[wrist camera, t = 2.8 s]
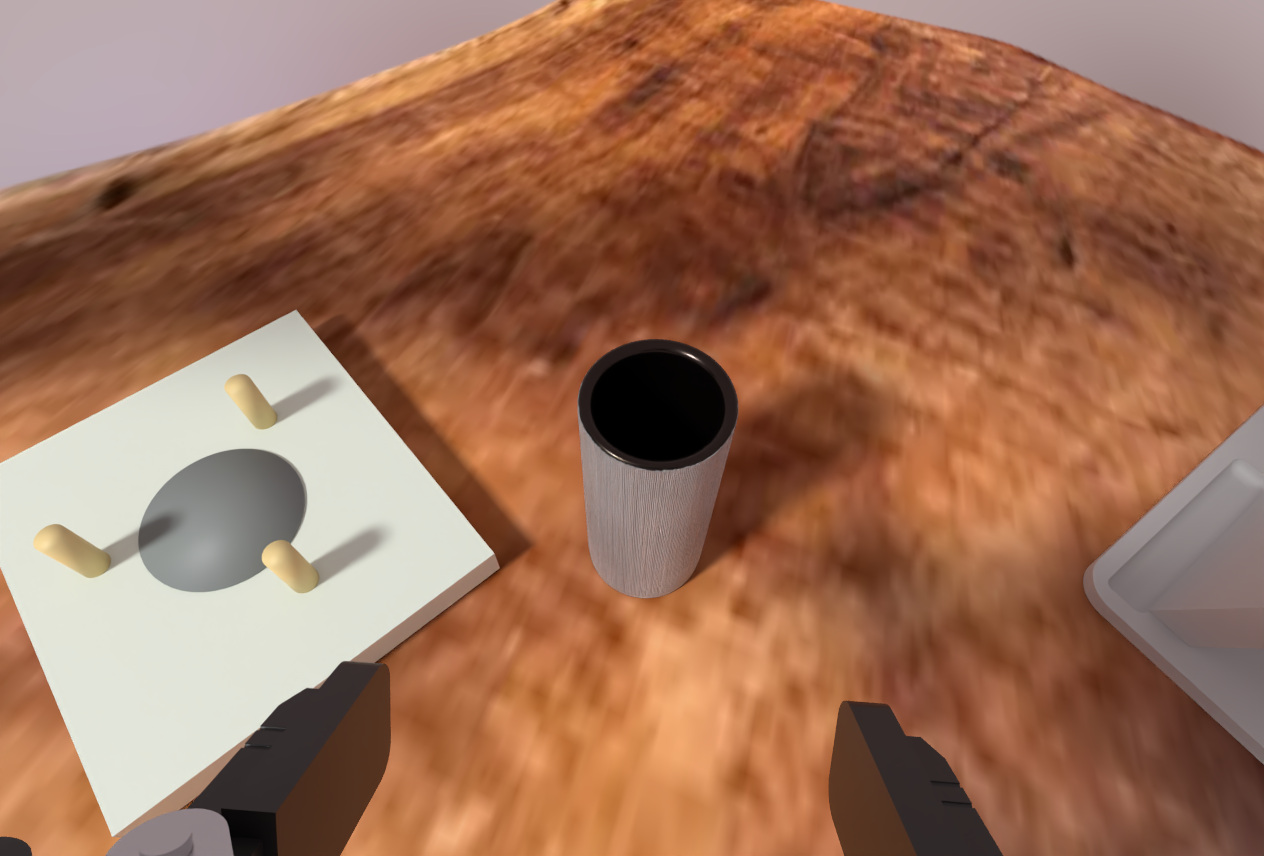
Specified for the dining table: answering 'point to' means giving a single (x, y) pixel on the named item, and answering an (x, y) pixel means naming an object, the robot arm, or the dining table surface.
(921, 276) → the dining table surface
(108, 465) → the board
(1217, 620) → the phone holder
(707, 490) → the grey metal tumbler
